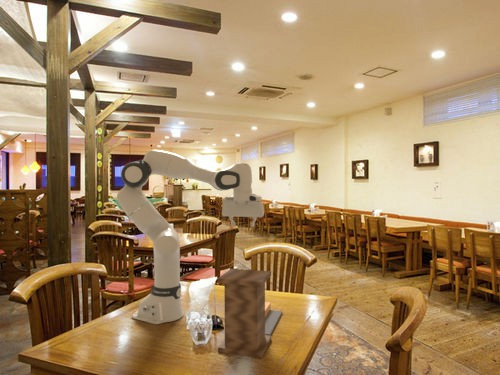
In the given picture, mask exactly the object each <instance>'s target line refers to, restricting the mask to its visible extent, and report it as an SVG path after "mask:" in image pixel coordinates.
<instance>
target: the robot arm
mask: <svg viewBox="0 0 500 375" xmlns="http://www.w3.org/2000/svg"><path fill="white" fill-rule="evenodd" d="M252 172H253V171H252V168H251V166H250V165H249V164H248V163H244V162H235V163H234V164H233V165H230V166H229V167H227V168H225V169H224V168H223V169H220V170H209V169H206V168H202V167H199V166H197V165H195V164H193V163H192V162H191V161H190V160H188V159H187V158H185V157H184V156H181V155H179V154H177V153H174V152H171V151H164V150H158V149H149V150H148V151H147V152H145V154H144V157H143V159H139V160H136V161H131V162H128V163H126V164H125V165H124V166H123V167H122V169H121V172H120V177H121V180H122V182H123V183H124V186H123V187H122V188H121V189H119V191H118V192H117V194H116V201H117V202H118V204H119V206H120V207H121V209H122V211H123V212H124V213H125V215H126V216H127V217H128V218H129V219H130V220H131V222H132V223H133V224H134V225H135V226H136V228H138V230H139V231H140V232H142V233H143V235H145V236H146V237H147V238H148V239H149V240H150V241H151V242H152V243H153V263H154V264H153V266H154V271H153V272H154V284H153V285H152V286H150V287H149V288H148V289H149V291H151V292H150V293H149V294H147V296H145V297H144V298H143V299H142V300H141V301H140V302H139V303H138V306H137V310H136V311H135V312H133V314H132V319H134V320H138V321H142V322H146V323H149V324H152V325H160V324H163V323H169V322H174V321H178V320H179V319H181V318H183V317H184V315H185V313H184V311H183V306H182V300H181V297H182V296H181V295H182V287H181V286H182V285H181V284H182V283H180V282H181V274H180V272H181V271H180V269H181V268H180V267H181V265H180V263H181V262H180V260H181V259H180V258H181V254H180V253H181V248H180V247H181V244H180V243H181V241H180V236H179V233H178V232H177V230H176V229H175V228H173V226H172V225H171V224H170V223H169V222H168V221H167V220H166V218H164V216H162V214H160V212H159V211H158V209H157V208H156V207H155V206H154V205H153V203H152V202H151V201H150V200H149V199H148V198H147V196H145V194H144V192H143V188H144V187H145V185H146V184H147V183H148V182H149V178H150V177H151V176H153V175H159V176H163V177H166V178H170V179H175V180H188V179H189V180H195V181H198V182H202V183H205V184H208V185H211V186H212V188H214V189H215V190H217V191H229V190H231V189H232V190H233V193H232V195H233V196H225V197H223V199H222V201H221V203H222V204H221V205H222V208H221V215H222V217H228V219H229V221H230V223H231V224H230V225H231V227H235V226H236V221H234V217H237V218H239V217H240V218H241V217H242V218H252V222H250V227H251V228H252V227H255V222H256V221H257V218H262V217H264V216H265V208H264V203H263V201H262V200H263V198H262V196H261V195H258V194H256V193H253V190H252V189H253V188H252V183H253V174H252Z"/></svg>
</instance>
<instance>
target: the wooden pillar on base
mask: <svg viewBox="0 0 500 375" xmlns="http://www.w3.org/2000/svg"><path fill="white" fill-rule="evenodd" d="M271 276H272V271H268V270H257V269H256V270H255V269H254V270H253V269H241V268H230V269H229V270H227V271H225V272H224V273H223V274H221V275H220V276H219V277H217V283H218V284H224V339H223V341H222V342H221V343H220V344H219V345H218V346H217V352H218V353H224V354H225V353H226V354H232V355H238V356H245V357H251V358H256V359H263V357H264V354H265V353H266V351H267V349H268V346H269V345H270V342H271V341H272V335H271V336H269V335H265V302H266V282H267V281H268V279H269V278H271Z"/></svg>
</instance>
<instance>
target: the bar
mask: <svg viewBox="0 0 500 375" xmlns="http://www.w3.org/2000/svg"><path fill="white" fill-rule="evenodd" d="M271 305H272V304H271V302H268V301H265V317H266V315H267V314H268V312H269V311H270V310H272V309H271V308H272V307H271Z"/></svg>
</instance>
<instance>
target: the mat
mask: <svg viewBox="0 0 500 375" xmlns="http://www.w3.org/2000/svg"><path fill="white" fill-rule="evenodd" d="M282 315H283V311H282V310H274V309H273V310H272V309H270V311H269V312H268V314H267V315H266V317H265V335H269V336H271V337H272V333H273V332H274V330H275V328H276V325H277V324H278V322H279V320H280V318H281V317H282Z"/></svg>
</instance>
